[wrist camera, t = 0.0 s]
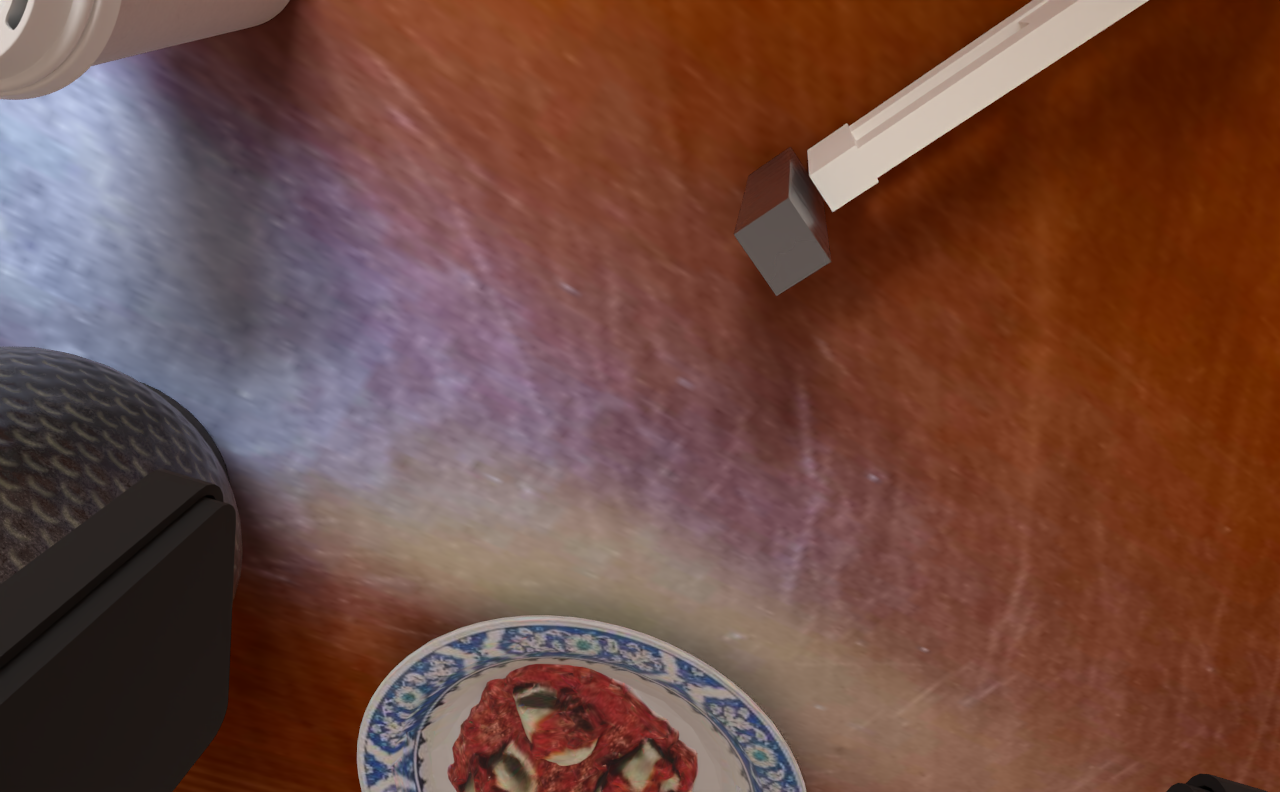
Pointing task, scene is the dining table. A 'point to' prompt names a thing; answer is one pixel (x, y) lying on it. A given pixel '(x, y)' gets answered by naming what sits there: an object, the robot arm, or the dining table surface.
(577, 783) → the ceramic plate
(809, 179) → the gate posts
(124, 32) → the coffee cup
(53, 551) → the robot arm
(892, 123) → the gate
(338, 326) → the dining table surface
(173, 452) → the planter
